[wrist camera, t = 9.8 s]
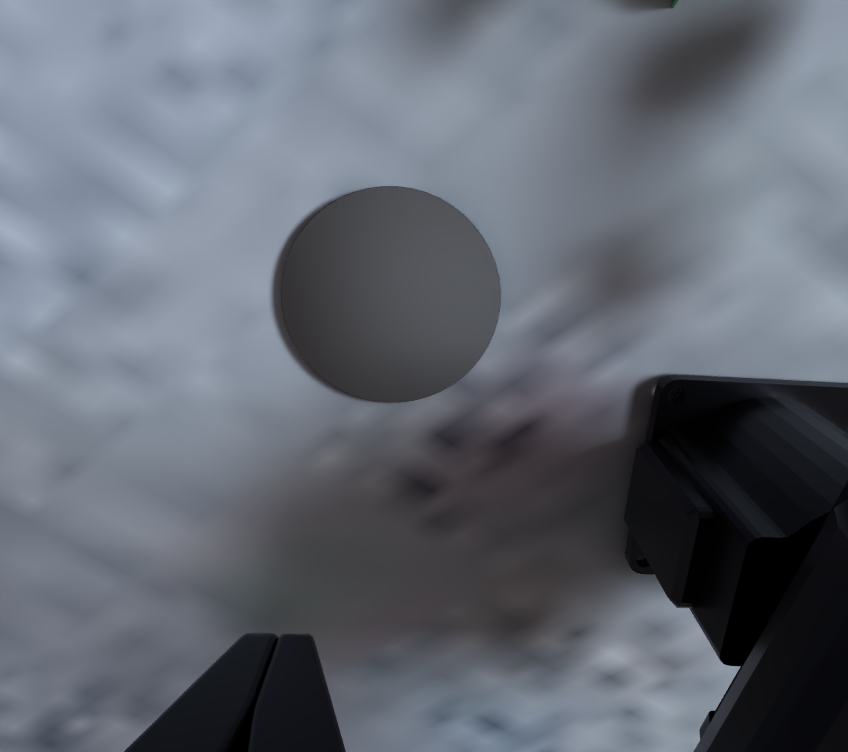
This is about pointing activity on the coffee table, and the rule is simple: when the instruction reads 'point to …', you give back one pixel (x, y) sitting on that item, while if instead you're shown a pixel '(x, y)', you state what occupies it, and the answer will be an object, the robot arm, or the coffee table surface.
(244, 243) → the coffee table surface
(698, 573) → the robot arm
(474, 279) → the pad
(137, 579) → the coffee table surface
